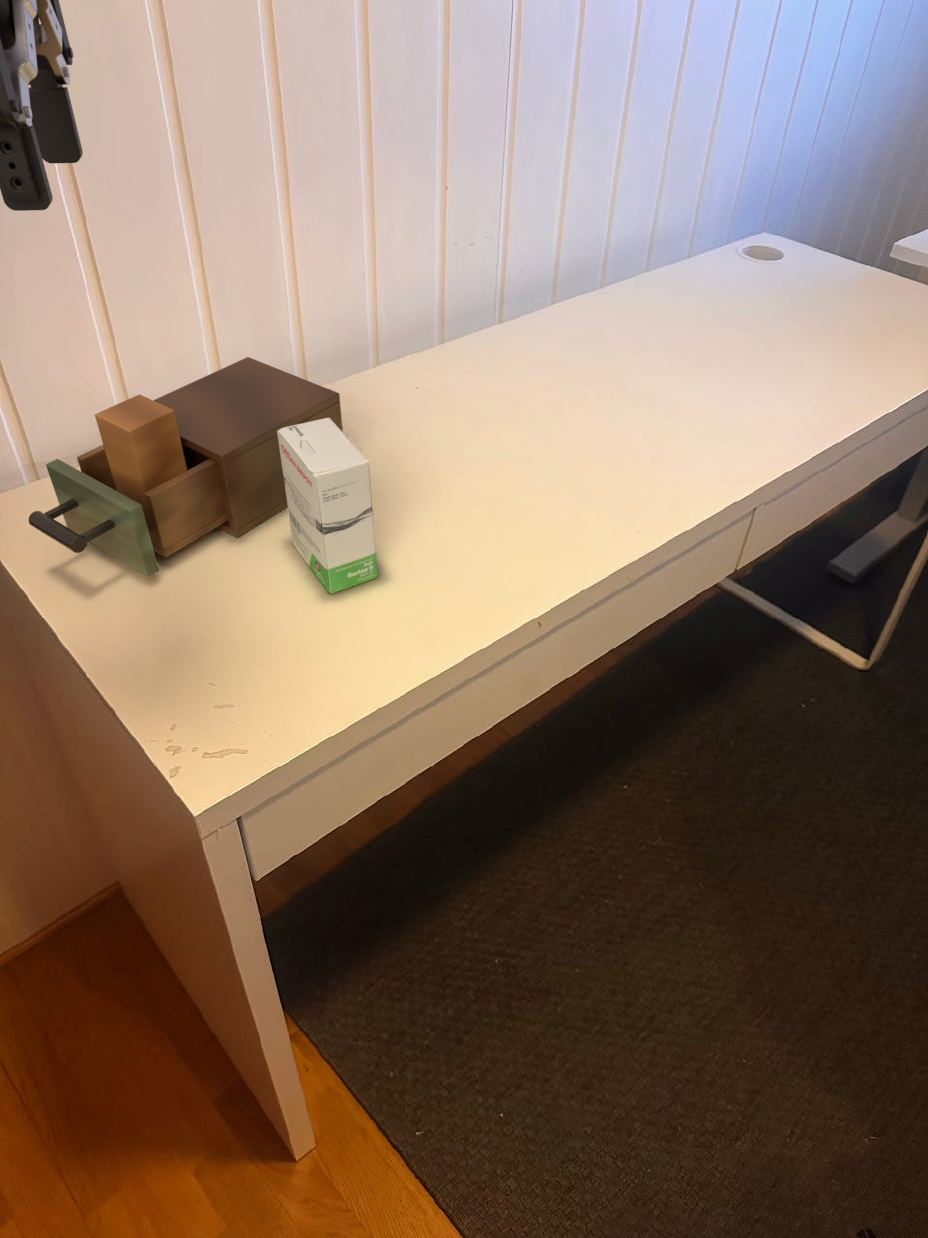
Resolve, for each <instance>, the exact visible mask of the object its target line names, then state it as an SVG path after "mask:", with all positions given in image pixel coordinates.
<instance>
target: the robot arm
mask: <svg viewBox="0 0 928 1238" xmlns="http://www.w3.org/2000/svg"><path fill="white" fill-rule="evenodd" d="M67 32H68V31H67V29H66V24H65V21H64V17H63V12H62V8H61V4H60V0H0V193H1V197H2V200H3V203H4V204H5V205H6V207H7V208H8V209H9V210H12V211H16V212H19V211H21V212H22V211H24V212H25V211H45V210H47V209H48V208H49V207H50V206H51V204H52V202H53V193H52V189H51V186H50V182H49V178H48V174H47V171H46V167H45V164H44V161H45V162H46V163H48V164H75V163H78V162H79V161H80V160H81V158H82V157H83V155H84V154H83V152H84V151H83V147H82V143H81V139H80V134H79V130H78V126H77V122H76V118H75V113H74V109H73V106H72V101H71V97H70V92H69V89H68V87H67V86H70V82H71V81H70V78H71V70H70V68H69V66H72V65H73V62H74V61H73V58H74V52H73V48H72V47H71V46H70V41H69V36H68V33H67Z"/></svg>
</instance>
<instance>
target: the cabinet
mask: <svg viewBox="0 0 928 1238" xmlns="http://www.w3.org/2000/svg"><path fill="white" fill-rule="evenodd" d="M152 400H153V401H155V402H157V403H160V404H162V405H164V406H166V407H168V408H170V409H173V410H174V412H175V417H176V421H177V426H178V430H179V435H180V439H181V444H183V445H185V446H187V447H189V448H191V449H193V450H195V451H197V452H199V453H201V454H203V455H205V456H207V457H209V458H212V459H214V460H216V461H218V462H217V464H218V469H219V474H220V479H221V484H222V489H223V494H224V499H225V505H226V510H227V515H228V521H226V522H225V523H223V524H221V525H220V526H218V527H216V528H217V529H219V530H221V531H223V532H225V533H227V534H228V535H231V536H232V537H234V538H236V539H238V538H240V537H242V536H243V535H245V534H246V533H248V532H249V531H251V530H253V529H254V528H256V527H257V526H259V525H261V524H262V523H264V522H266V521H267V520H269V519H271V518H272V517H274V516H276V515H277V514H279V513H280V512H282V511H283V510H285V509H288V505H287V498H286V491H285V483H284V476H283V470H282V463H281V456H280V449H279V441H278V435H277V431H278V430H280V429H281V428H284V427H288V426H292V425H297V424H302V423H306V422H311V421H316V420H320V419H325V418H330V419H331V420H332V421H333V422H334V423H335V425H336V426H337V427H338V428H339V429H340V430H341V431H342V432H343V433H344V430H343V421H342V408H341V407H342V406H341V395H340V393H339V392H337V391H335V390H332V389H330V388H327V387H324V386H322V385H319V384H317V383H315V382H312V381H309V380H307V379H304V378H302V377H299V376H296V375H294V374H292V373H289V372H287V371H284V370H281V369H279V368H277V367H274V366H272V365H270V364H267V363H264V362H262V361H259V360H257V359H254V358H252V357H250V356H247V357H244V358H241V359H239V360H238V361H236V362H234V363H231V364H229V365H227V366H225V367H223V368H220V369H218V370H216V371H214V372H212V373H210V374H207V375H205V376H203V377H201V378H199V379H197V380H195V381H192V382H190V383H188V384H185V385H184V386H182V387H179V388H177V389H174V390H173V391H170V392H168V393H166V394H164V395H162V396H159V397H157V398H154V399H152Z"/></svg>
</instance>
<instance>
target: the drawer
mask: <svg viewBox="0 0 928 1238" xmlns="http://www.w3.org/2000/svg"><path fill="white" fill-rule="evenodd" d="M182 448H183V453H184V457H185V462H186V466H187V471H186V472H184V473H182V474H180V475H178V476H176V477H174V478H172V479H171V480H169V481H167V482H165V483H163V484H161V485H159V486H157V487H156V488H154V489H152V490H150V491H148V492H146V493H145V498H146V502H147V505H148V509H149V513H150V517H151V520H152V524H153V528H154V531H153V530H151V529H149V528H148V527H147V523H146V520H145V516H144V512H143V508H142V505H141V504H139V503H137V502H135V501H134V500H132V499H130V498H128V497H126V496H125V495H123V494H121V493H119V492H117V491H116V487H115V484H114V480H113V477H112V473H111V470H110V466H109V463H108V459H107V456H106V453H105V449H104V446H103V444H101V445H99V446H97V447H95V448H93V449H91V450H88V451H87V452H85V453H83V454H80V455H78V456H76V459H77V462H78V466H79V469H77V468H75V467H74V466H72V465H69V463H66V462H64V461H63V460H60V459H58V458H57V459H56V458H55V459H54V460H52V461H50V462H47V463H46V464H45V466H46V469H47V473H48V476H49V478H50V481H51V484H52V487H53V490H54V493H55V496H56V499H57V501H58V505H57V506H55V507H53V508H50V509H49V510H47V511H45V512H42V511H40V510H35V511H33V512H31V514H29V516H28V524H29V525H30V526H31V527H33V528H34V529H36V530H38V531H39V532H41V533H42V534H44V535H46V536H47V537H49V538H51V539H52V540H54V541H55V542H57V543H59V544H60V545H62V546H63V547H65V548H66V549H68V550H69V551H72V552H73V553H75V554H80V553H82V552H84V551H85V550H86V548H87V547H88V543H90V544H92V545H94V546H95V547H96V548H98V549H100V550H102V551H103V552H105V553H107V554H108V555H110V556H112V557H114V558H115V559H117V560H118V561H120V562H122V563H123V564H126V566H128V567H130V568H132V569H133V570H134V571H137V572H138V573H140V574H142V575H143V576H145V577H146V578H150V577H152V576H154V575H155V574H157V573H159V572H160V568H159V565H158V561H157V557H156V553H158V554H159V555H161V556H163V557H165V558H168V557H170V556H171V555H173V554H174V553H176V552H178V551H179V550H181V549H183V548H184V547H186V546H187V545H189V544H191V543H193V542H194V541H196V540H198V539H199V538H201V537H203V536H204V535H206V534H208V533H209V532H211V531H213V530H214V529H216V528H217V527H218V526H220V525H221V524H223V523H225V522H226V521H228V515H227V510H226V505H225V499H224V494H223V489H222V484H221V479H220V474H219V469H218V464H217V462H218V461H216V460H214V459H212V458H209V457H207V456H205V455H203V454H201V453H199V452H197V451H195V450H193V449H191V448H189V447H187V446H185V445H183V444H182ZM61 516H63V519H64V522H65V525H64V524H62V523H61V522H59V521H57V520H56V518H59V517H61ZM155 552H156V553H155Z"/></svg>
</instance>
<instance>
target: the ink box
mask: <svg viewBox="0 0 928 1238" xmlns="http://www.w3.org/2000/svg"><path fill="white" fill-rule="evenodd" d="M277 435H278V441H279V449H280V456H281V463H282V470H283V476H284V483H285V491H286V498H287V505H288V507H287V512H288V518H289V528H290V535H291V542H292V545H293V547H294V548H295V550H297V552H298V553H299V555H300V556H301V558H302V559H303V560H304V562H305V563H306V564H307V565H308V567H309V568H310V569H311V571H312V572H313V573H314V575H315V577H316V578H317V579H318V580H319V581H320V583H321V584H322V586H323V587H324V588H325V589H326V592H328V593H329V594H335V593H337V592H339V591H343V590H346V589H349V588H352V587H355V586H357V585H360V584H362V583H366V582H367V581H371V580H373V579H375V578H378V576H379V573H378V562H377V551H376V550H377V549H376V536H375V535H376V534H375V525H374V511H373V509H374V508H373V499H372V497H373V495H372V484H371V483H372V482H371V471H370V461H369V460H368V459H367V458H366V457H365V456H364V454H362V452H361V451H360V450H359V449H358V448H357V447H356V446H355V445H354V443H353V442H352V441H351V440H350V439H349V438H348V436H347V435H346V434H345V433H344V431H343V432H342V431H341V430H340V429H339V428H338V427H337V426H336V425H335V423H334V422H333V421H332V420H331V419H330V418H325V419H320V420H316V421H311V422H306V423H302V424H297V425H292V426H288V427H284V428H281V429H280V430H278V431H277Z"/></svg>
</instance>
